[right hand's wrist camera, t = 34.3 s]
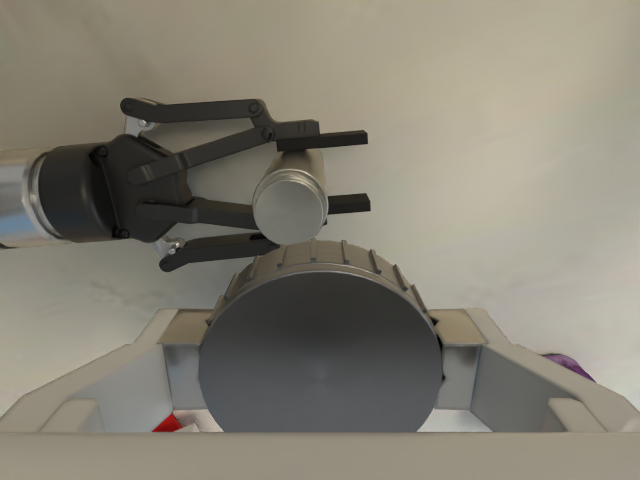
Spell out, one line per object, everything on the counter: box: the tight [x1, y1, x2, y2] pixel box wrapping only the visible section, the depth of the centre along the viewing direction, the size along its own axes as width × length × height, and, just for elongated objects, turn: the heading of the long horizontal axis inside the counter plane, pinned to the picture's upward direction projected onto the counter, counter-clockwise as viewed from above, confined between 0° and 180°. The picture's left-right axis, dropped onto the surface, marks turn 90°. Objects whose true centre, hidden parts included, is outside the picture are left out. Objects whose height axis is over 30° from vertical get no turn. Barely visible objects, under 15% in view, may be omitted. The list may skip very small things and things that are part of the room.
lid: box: [198, 238, 443, 432], centre depth 9 cm, size 5×5×2 cm
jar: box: [252, 148, 328, 245], centre depth 28 cm, size 4×4×17 cm
